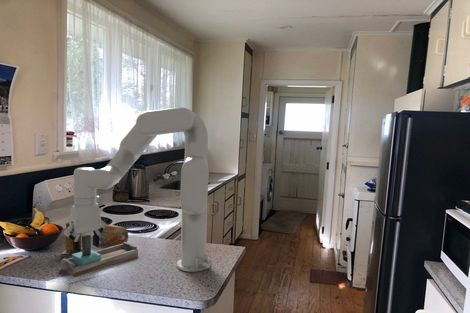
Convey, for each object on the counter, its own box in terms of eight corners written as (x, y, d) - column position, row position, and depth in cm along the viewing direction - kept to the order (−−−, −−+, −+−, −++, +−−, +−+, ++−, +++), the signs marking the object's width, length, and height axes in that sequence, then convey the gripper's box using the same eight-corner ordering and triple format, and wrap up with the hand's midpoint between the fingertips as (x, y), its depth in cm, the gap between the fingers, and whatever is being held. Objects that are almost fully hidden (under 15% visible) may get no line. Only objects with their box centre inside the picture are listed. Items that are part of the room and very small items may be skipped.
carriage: (101, 262, 132) (100, 236, 131) (82, 268, 127) (82, 240, 126) (90, 256, 137) (89, 231, 136) (72, 261, 132) (71, 235, 131)
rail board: (138, 256, 143) (138, 247, 143) (74, 276, 123) (74, 266, 123) (123, 250, 150) (123, 241, 149) (61, 268, 130) (61, 258, 130)
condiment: (68, 247, 151) (67, 220, 150) (88, 247, 152) (88, 220, 151) (61, 254, 144) (60, 225, 143) (83, 253, 145) (82, 225, 144)
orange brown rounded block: (97, 243, 158) (96, 224, 157) (101, 240, 161) (101, 222, 160) (125, 247, 153) (125, 228, 152) (129, 245, 156) (129, 226, 155)
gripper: (102, 196, 139) (102, 240, 140) (56, 203, 125) (57, 252, 127) (112, 199, 134) (113, 245, 136) (66, 206, 121) (67, 257, 122)
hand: (86, 248), depth 131 cm, fingers open, 6 cm apart
